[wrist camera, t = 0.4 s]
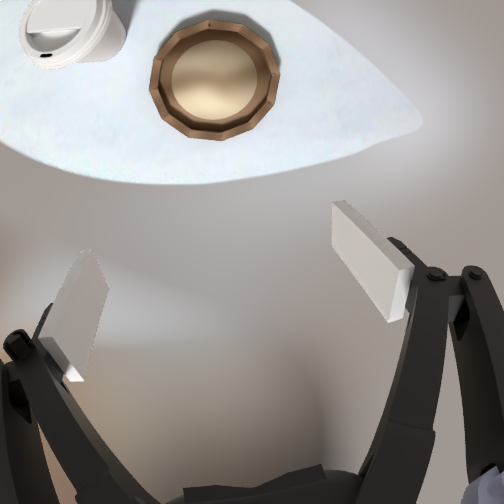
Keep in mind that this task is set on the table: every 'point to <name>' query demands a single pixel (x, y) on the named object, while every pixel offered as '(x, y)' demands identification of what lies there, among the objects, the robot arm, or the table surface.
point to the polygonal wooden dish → (214, 80)
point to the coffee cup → (70, 32)
